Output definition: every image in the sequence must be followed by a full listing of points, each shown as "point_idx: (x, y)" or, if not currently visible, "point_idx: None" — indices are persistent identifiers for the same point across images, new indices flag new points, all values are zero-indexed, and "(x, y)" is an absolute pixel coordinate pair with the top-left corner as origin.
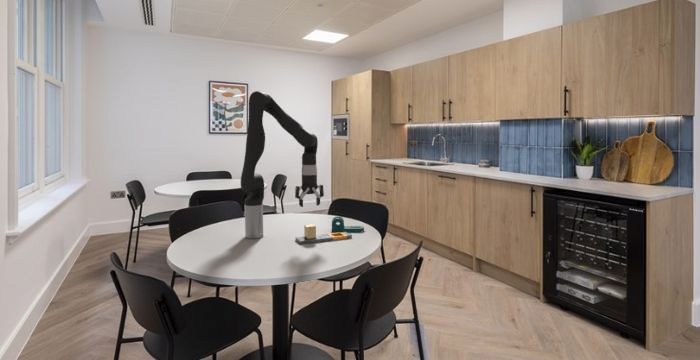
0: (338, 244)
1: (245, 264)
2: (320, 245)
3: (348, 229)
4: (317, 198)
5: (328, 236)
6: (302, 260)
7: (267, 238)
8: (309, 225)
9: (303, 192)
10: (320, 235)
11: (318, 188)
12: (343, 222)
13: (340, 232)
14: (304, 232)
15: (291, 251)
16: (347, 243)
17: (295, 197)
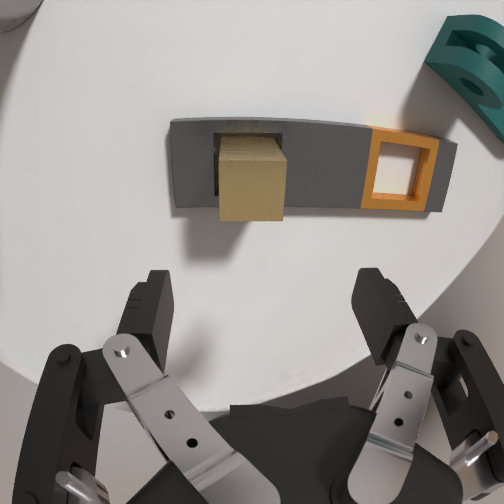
0: (335, 265)
1: (10, 322)
2: (261, 249)
3: (486, 116)
4: (378, 356)
5: (348, 182)
6: None
7: (54, 30)
8: (249, 186)
9: (179, 426)
10: (322, 142)
11: (463, 448)
12: (497, 109)
13: (435, 143)
14: (220, 148)
15: (122, 276)
16: (372, 266)
17: (56, 350)
